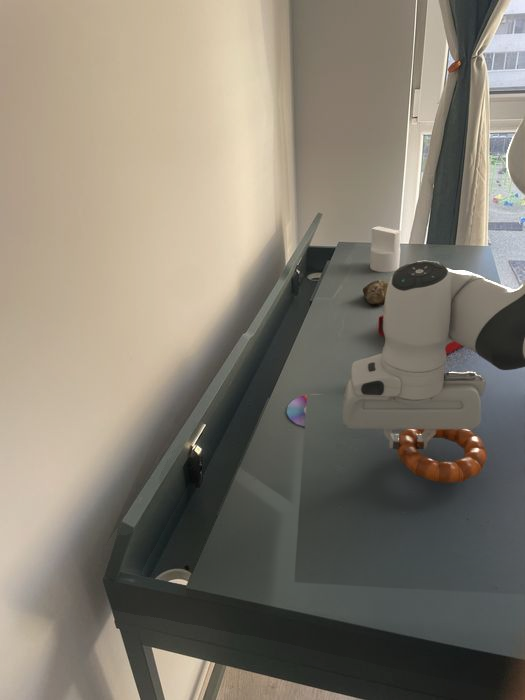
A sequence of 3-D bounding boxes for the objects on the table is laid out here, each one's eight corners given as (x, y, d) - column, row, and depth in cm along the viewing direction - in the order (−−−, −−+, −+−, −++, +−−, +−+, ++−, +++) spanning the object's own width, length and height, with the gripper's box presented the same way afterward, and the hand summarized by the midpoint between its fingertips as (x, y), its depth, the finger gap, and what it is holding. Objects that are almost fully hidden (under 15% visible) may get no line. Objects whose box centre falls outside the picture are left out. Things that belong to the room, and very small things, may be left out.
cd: (355, 408, 104) (355, 407, 104) (317, 436, 97) (317, 435, 97) (311, 387, 111) (311, 387, 111) (274, 412, 105) (274, 412, 104)
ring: (473, 430, 88) (475, 416, 87) (494, 487, 77) (497, 472, 76) (392, 429, 90) (393, 415, 89) (402, 485, 79) (403, 470, 77)
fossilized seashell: (394, 301, 139) (396, 291, 148) (382, 279, 138) (385, 271, 147) (368, 313, 142) (372, 303, 151) (356, 292, 141) (361, 284, 150)
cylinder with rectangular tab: (364, 267, 167) (365, 231, 161) (381, 259, 172) (382, 223, 166) (387, 274, 161) (389, 236, 155) (404, 265, 166) (407, 228, 160)
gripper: (481, 360, 78) (471, 434, 85) (341, 362, 81) (342, 433, 87) (493, 384, 72) (480, 461, 79) (342, 385, 75) (343, 459, 82)
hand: (407, 446), depth 83 cm, fingers closed on ring, 3 cm apart
